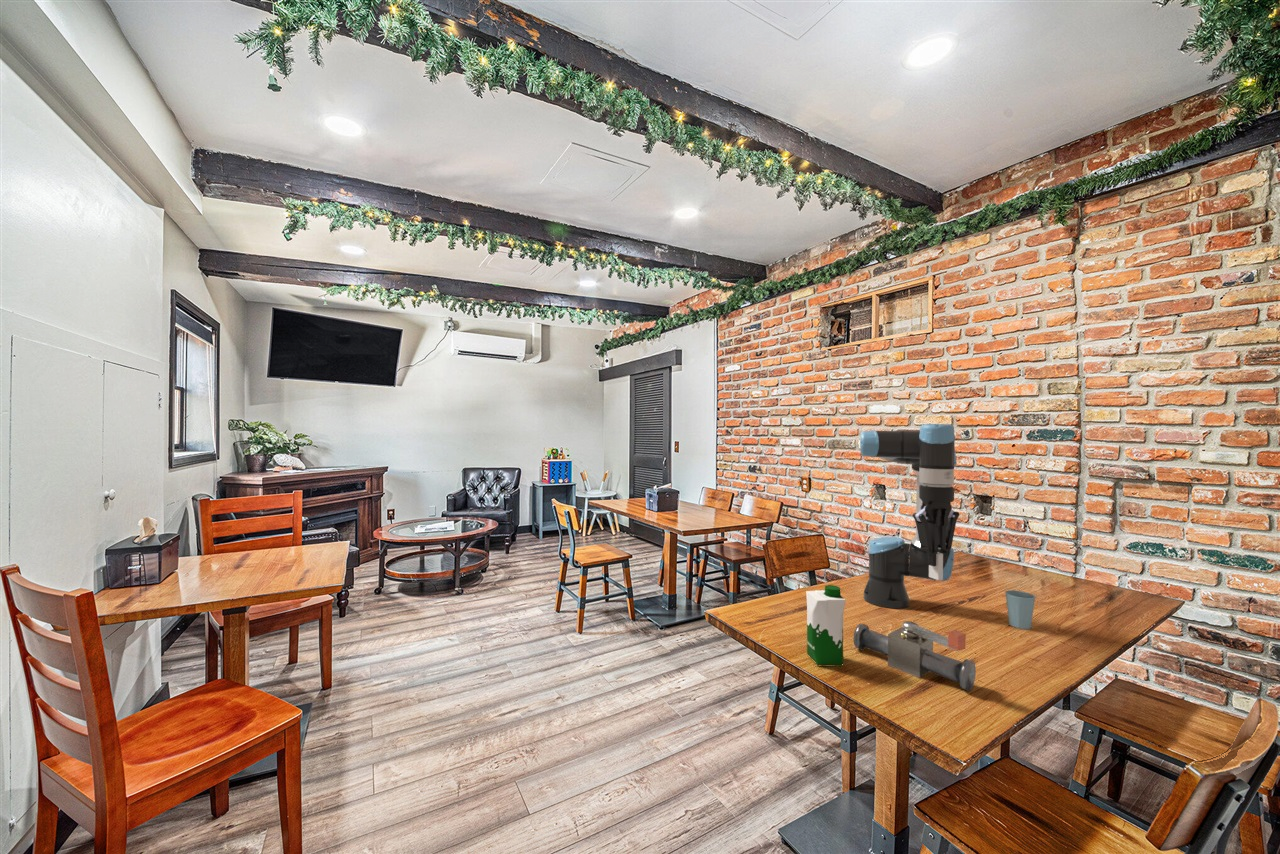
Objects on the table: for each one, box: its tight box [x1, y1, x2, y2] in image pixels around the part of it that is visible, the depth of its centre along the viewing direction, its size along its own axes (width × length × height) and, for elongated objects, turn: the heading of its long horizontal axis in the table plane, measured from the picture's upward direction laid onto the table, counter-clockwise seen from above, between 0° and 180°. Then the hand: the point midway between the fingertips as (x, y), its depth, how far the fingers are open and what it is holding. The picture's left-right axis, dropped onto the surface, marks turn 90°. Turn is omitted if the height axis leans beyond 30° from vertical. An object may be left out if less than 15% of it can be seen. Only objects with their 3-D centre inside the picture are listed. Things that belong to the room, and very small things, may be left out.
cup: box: [1005, 589, 1036, 630], centre depth 157 cm, size 8×8×10 cm
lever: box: [902, 620, 967, 652], centre depth 123 cm, size 15×4×4 cm, turn 23°
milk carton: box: [805, 584, 846, 666], centre depth 132 cm, size 9×9×20 cm
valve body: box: [853, 623, 977, 692], centre depth 129 cm, size 28×8×10 cm, turn 37°
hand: (935, 578), depth 121 cm, fingers closed
